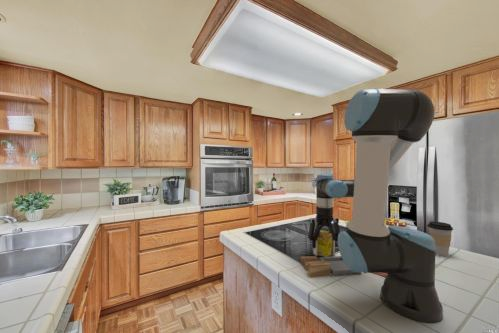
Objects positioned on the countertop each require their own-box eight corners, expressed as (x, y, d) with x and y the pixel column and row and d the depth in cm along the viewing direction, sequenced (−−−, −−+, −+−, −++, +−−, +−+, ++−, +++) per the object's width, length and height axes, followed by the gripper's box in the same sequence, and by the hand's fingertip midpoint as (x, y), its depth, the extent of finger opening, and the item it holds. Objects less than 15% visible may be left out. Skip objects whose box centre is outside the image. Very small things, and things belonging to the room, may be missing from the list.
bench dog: (330, 275, 81) (330, 264, 81) (311, 277, 80) (311, 265, 80) (326, 271, 84) (326, 260, 84) (307, 273, 83) (307, 262, 83)
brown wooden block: (323, 271, 85) (323, 264, 85) (307, 272, 85) (307, 265, 85) (316, 262, 93) (316, 256, 93) (300, 263, 93) (300, 256, 93)
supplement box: (328, 259, 96) (328, 235, 96) (315, 256, 99) (315, 233, 99) (332, 255, 100) (332, 232, 100) (320, 252, 104) (320, 230, 104)
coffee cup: (458, 258, 98) (458, 226, 98) (435, 257, 99) (435, 225, 99) (444, 251, 107) (444, 221, 107) (422, 249, 109) (423, 220, 109)
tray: (361, 273, 83) (361, 268, 83) (333, 276, 81) (333, 271, 81) (343, 260, 95) (343, 256, 95) (318, 262, 93) (318, 257, 93)
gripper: (340, 204, 105) (339, 249, 105) (300, 205, 102) (300, 252, 102) (349, 207, 98) (349, 256, 98) (307, 208, 94) (306, 258, 94)
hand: (324, 254), depth 100 cm, fingers closed on supplement box, 8 cm apart
